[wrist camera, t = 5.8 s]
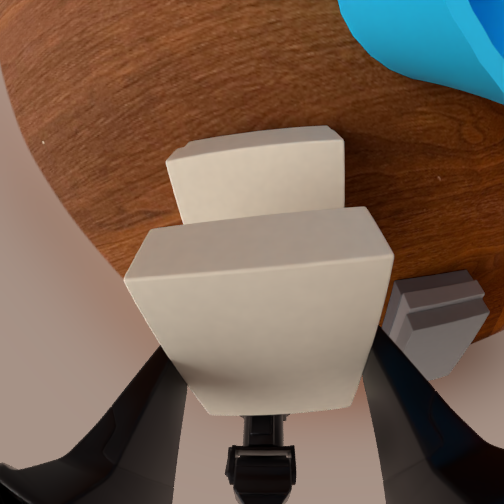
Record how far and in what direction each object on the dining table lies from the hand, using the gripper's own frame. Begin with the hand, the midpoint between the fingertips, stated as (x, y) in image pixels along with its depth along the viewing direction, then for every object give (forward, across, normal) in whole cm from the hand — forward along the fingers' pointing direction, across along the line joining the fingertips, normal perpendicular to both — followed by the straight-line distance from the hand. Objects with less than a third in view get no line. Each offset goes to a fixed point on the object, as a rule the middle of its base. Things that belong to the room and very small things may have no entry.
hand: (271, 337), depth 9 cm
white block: (+1, 0, 0) cm, 1 cm away
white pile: (+8, 0, 0) cm, 8 cm away
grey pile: (+8, -12, +11) cm, 18 cm away
